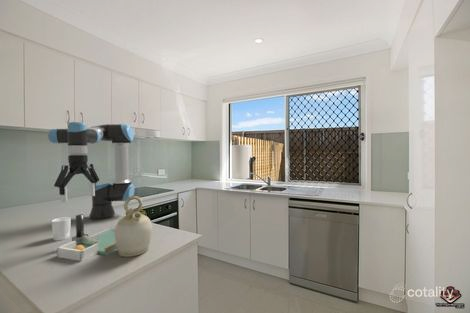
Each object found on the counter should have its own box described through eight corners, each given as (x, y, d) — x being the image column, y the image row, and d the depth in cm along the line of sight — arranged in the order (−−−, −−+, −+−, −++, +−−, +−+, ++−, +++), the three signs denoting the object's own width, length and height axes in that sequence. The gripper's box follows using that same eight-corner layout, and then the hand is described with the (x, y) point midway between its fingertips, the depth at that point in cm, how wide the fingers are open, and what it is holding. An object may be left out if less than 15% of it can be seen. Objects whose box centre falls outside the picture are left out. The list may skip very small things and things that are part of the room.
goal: (74, 249, 99) (74, 240, 99) (98, 252, 95) (97, 244, 95) (57, 256, 92) (56, 247, 92) (81, 261, 88) (81, 251, 88)
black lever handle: (82, 238, 107) (81, 213, 106) (103, 241, 103) (102, 215, 103) (71, 242, 102) (71, 216, 102) (93, 245, 98) (93, 218, 98)
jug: (151, 255, 92) (149, 197, 92) (110, 261, 88) (109, 200, 87) (153, 241, 107) (152, 191, 106) (119, 245, 102) (118, 193, 102)
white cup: (69, 234, 118) (68, 216, 118) (73, 237, 113) (72, 218, 113) (50, 238, 112) (50, 219, 112) (54, 242, 107) (53, 222, 107)
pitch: (107, 231, 122) (107, 226, 122) (142, 235, 115) (142, 230, 115) (66, 248, 100) (65, 242, 100) (106, 254, 93) (106, 248, 93)
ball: (77, 254, 95) (81, 244, 97) (84, 255, 94) (88, 245, 96) (69, 254, 92) (73, 244, 93) (76, 255, 91) (80, 245, 92)
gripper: (95, 154, 116) (96, 193, 116) (42, 155, 92) (44, 204, 92) (106, 154, 114) (107, 193, 114) (55, 155, 90) (56, 205, 90)
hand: (79, 198), depth 103 cm, fingers open, 13 cm apart
